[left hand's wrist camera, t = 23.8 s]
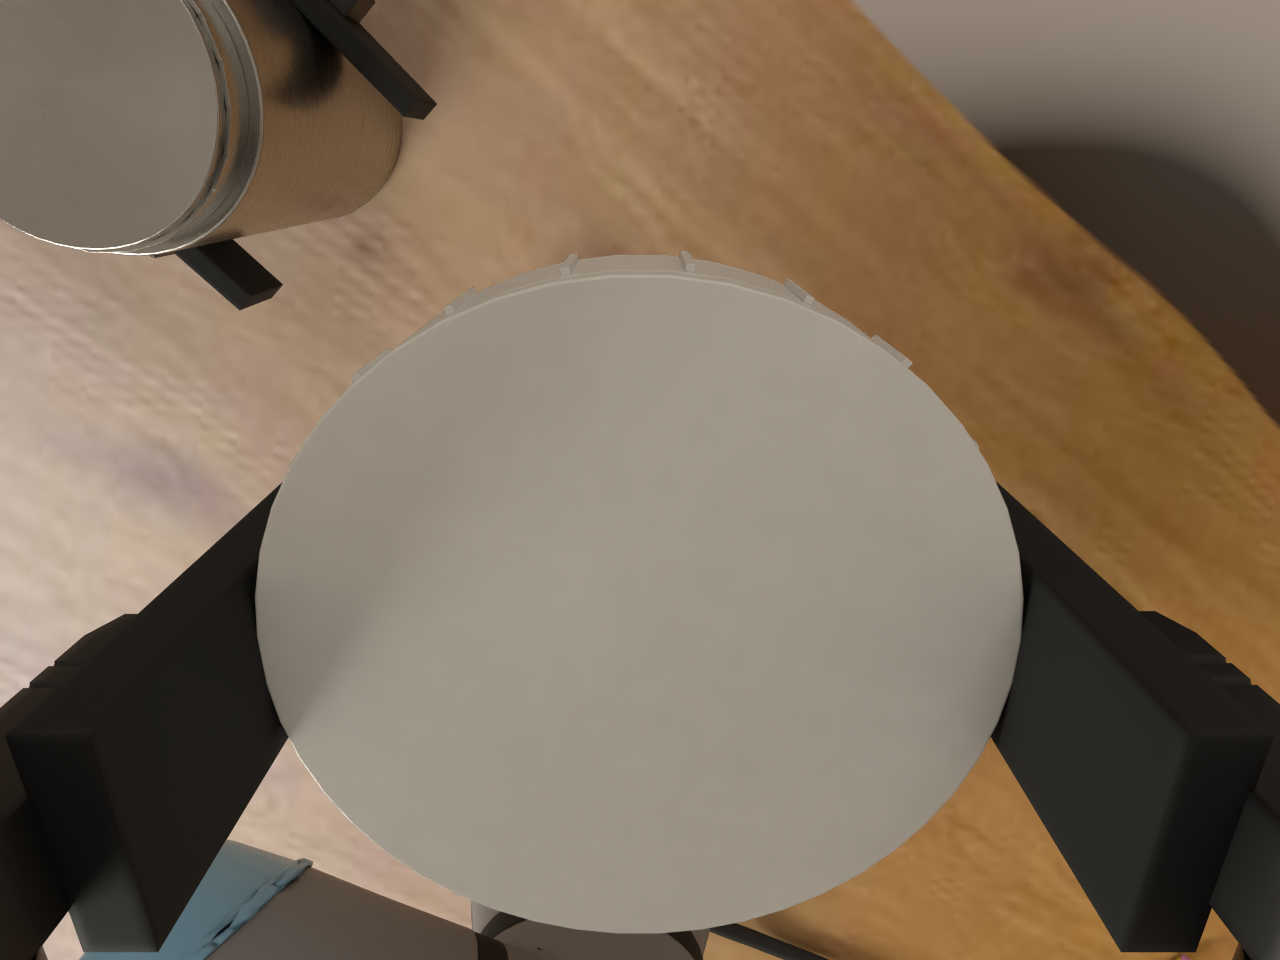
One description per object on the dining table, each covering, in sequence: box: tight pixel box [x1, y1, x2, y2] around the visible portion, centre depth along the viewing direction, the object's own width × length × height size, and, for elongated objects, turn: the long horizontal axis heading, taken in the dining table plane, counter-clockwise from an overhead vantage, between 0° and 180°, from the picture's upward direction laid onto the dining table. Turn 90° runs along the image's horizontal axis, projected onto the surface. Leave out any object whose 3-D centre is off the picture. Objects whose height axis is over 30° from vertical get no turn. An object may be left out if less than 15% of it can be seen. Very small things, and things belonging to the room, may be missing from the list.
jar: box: [0, 0, 402, 256], centre depth 26 cm, size 8×8×15 cm
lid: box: [255, 250, 1024, 933], centre depth 11 cm, size 10×10×2 cm
